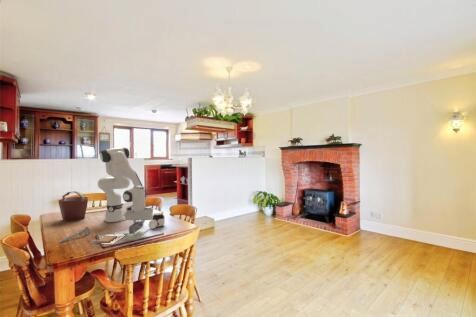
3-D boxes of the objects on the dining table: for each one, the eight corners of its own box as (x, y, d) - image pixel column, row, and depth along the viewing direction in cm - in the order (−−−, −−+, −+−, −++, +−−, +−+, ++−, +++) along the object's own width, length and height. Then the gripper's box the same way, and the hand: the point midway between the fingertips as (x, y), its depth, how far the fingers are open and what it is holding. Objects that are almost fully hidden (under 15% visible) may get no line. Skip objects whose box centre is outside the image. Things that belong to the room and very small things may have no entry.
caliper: (88, 234, 177) (88, 225, 177) (89, 234, 176) (89, 226, 176) (57, 243, 158) (57, 234, 158) (58, 243, 158) (58, 234, 158)
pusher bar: (138, 226, 181) (138, 220, 181) (142, 226, 181) (142, 220, 181) (129, 233, 165) (129, 226, 165) (133, 233, 165) (133, 226, 165)
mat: (107, 233, 177) (107, 233, 177) (128, 233, 177) (128, 233, 177) (88, 245, 155) (88, 244, 155) (113, 245, 155) (113, 244, 155)
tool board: (136, 230, 184) (136, 229, 184) (147, 230, 184) (147, 229, 184) (123, 240, 164) (123, 238, 164) (136, 240, 164) (136, 238, 164)
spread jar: (165, 224, 201) (165, 211, 200) (163, 228, 189) (163, 214, 189) (150, 225, 198) (150, 211, 198) (147, 229, 187) (147, 215, 187)
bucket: (55, 219, 217) (55, 192, 216) (82, 214, 235) (82, 189, 234) (66, 223, 203) (66, 194, 202) (94, 218, 221) (93, 191, 220)
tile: (105, 235, 167) (96, 241, 157) (116, 235, 167) (108, 241, 157) (105, 238, 167) (96, 243, 157) (116, 238, 167) (108, 243, 157)
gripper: (154, 206, 181) (154, 224, 182) (127, 206, 181) (127, 224, 182) (151, 208, 175) (151, 227, 175) (123, 208, 175) (123, 226, 175)
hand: (139, 225), depth 178 cm, fingers closed on pusher bar, 3 cm apart
